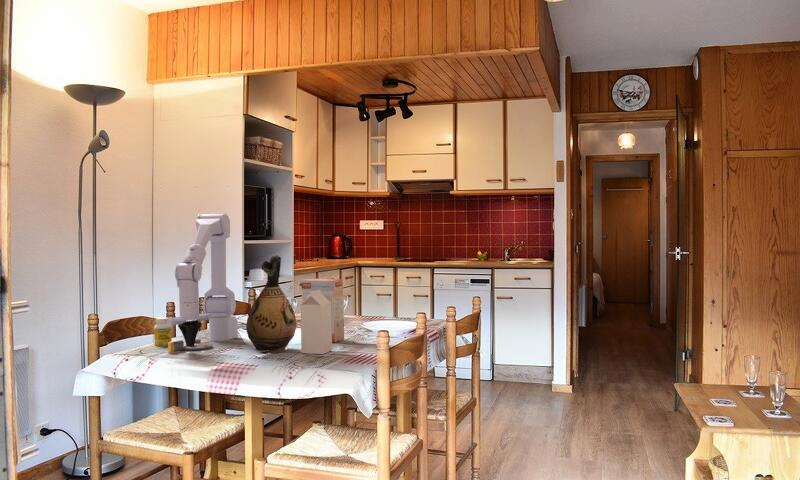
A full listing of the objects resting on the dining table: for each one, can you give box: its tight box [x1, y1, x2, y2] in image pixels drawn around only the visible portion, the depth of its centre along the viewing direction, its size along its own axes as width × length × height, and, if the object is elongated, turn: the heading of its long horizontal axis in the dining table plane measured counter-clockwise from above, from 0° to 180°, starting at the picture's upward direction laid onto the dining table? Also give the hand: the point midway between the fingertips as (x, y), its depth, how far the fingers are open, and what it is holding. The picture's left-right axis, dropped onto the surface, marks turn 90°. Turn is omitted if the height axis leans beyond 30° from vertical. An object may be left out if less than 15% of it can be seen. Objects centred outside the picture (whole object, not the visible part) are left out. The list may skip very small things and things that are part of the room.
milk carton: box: [300, 290, 333, 355], centre depth 207 cm, size 7×7×19 cm
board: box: [150, 341, 241, 357], centre depth 213 cm, size 20×20×1 cm
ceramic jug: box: [245, 255, 297, 354], centre depth 211 cm, size 17×15×30 cm
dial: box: [167, 338, 213, 352], centre depth 211 cm, size 15×10×3 cm
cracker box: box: [301, 278, 345, 343], centre depth 229 cm, size 14×6×21 cm, turn 58°
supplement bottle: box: [153, 317, 173, 347], centre depth 221 cm, size 5×5×10 cm
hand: (190, 346), depth 205 cm, fingers closed
